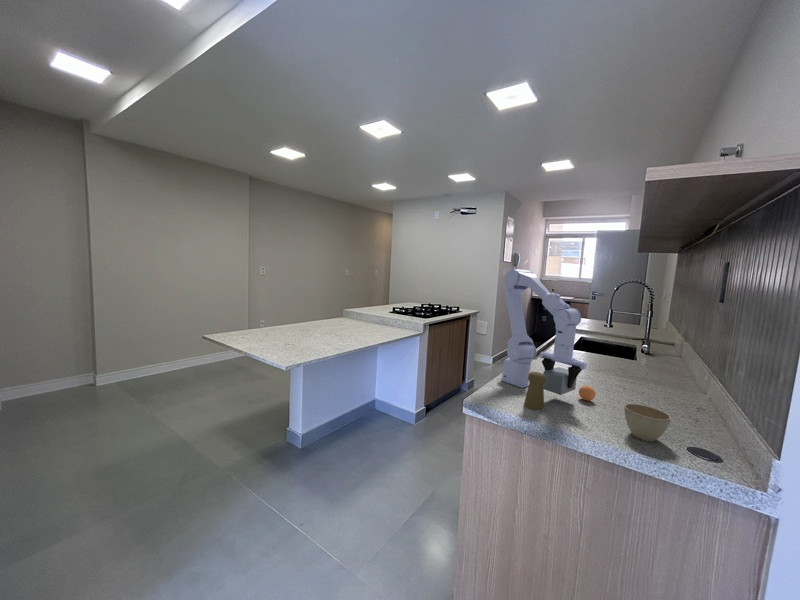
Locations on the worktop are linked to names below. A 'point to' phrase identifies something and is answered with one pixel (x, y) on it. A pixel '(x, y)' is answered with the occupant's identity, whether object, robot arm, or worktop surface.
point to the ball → (587, 393)
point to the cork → (535, 391)
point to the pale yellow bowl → (646, 421)
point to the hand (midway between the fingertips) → (559, 384)
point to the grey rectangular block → (557, 381)
